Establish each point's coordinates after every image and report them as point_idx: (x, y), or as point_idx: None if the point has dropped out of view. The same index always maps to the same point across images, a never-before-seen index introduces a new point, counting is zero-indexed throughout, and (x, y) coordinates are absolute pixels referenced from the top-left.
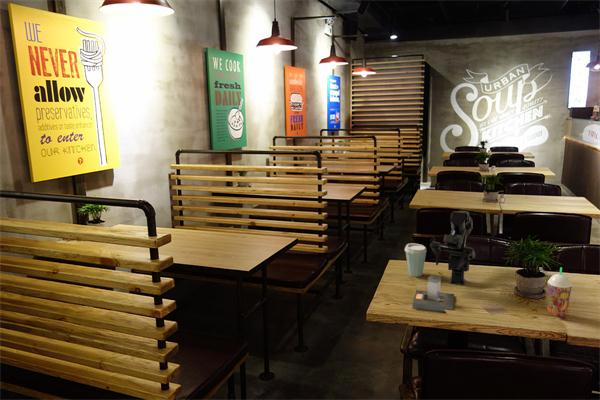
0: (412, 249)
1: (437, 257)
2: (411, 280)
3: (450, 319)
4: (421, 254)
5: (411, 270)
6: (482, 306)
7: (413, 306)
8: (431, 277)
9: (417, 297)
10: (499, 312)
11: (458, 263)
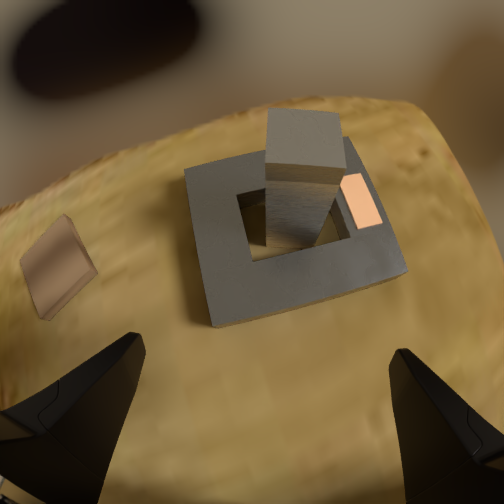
0: None
1: (445, 406)
2: None
3: (189, 139)
4: None
5: None
6: (83, 267)
7: None
8: (322, 127)
9: (359, 185)
10: (40, 244)
11: (104, 366)
